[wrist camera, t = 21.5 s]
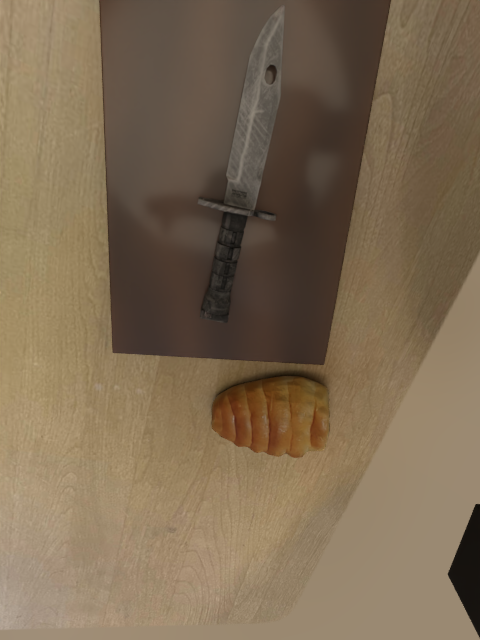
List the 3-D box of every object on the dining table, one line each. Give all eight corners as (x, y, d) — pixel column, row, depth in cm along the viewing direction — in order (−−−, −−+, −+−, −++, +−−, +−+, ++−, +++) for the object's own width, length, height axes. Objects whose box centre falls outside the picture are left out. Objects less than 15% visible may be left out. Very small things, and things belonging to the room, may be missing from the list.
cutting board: (386, -12, 25) (394, -19, 24) (321, 357, 34) (324, 365, 33) (103, -44, 24) (97, -53, 23) (116, 345, 33) (112, 353, 32)
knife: (236, -15, 22) (330, 12, 22) (235, -4, 24) (322, 21, 24) (176, 317, 29) (249, 330, 30) (179, 306, 31) (247, 319, 31)
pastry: (212, 439, 37) (211, 471, 34) (211, 371, 34) (209, 397, 31) (321, 438, 37) (331, 469, 34) (328, 370, 35) (339, 396, 31)
